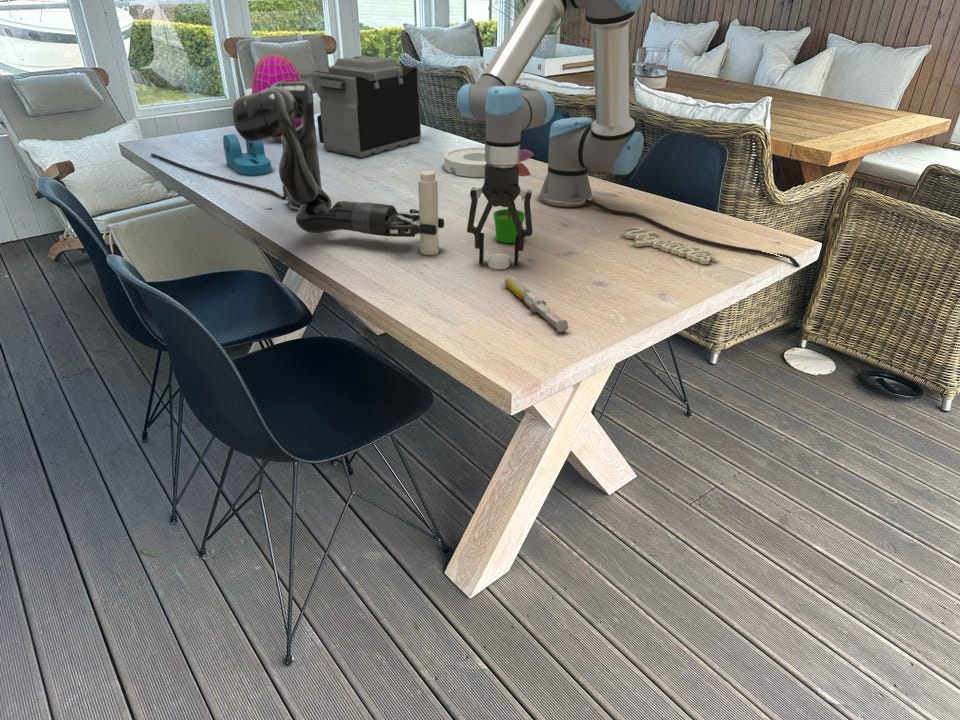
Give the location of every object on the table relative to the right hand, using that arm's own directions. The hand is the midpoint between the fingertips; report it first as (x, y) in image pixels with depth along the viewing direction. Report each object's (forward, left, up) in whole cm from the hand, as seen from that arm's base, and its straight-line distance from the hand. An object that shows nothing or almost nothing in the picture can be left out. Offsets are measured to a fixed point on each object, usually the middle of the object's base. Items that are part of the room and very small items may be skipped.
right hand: (498, 262), depth 160 cm
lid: (0, 0, +1) cm, 1 cm away
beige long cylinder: (+18, 0, -1) cm, 18 cm away
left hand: (+16, -1, +6) cm, 17 cm away
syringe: (-16, +18, -1) cm, 24 cm away
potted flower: (+4, -16, -1) cm, 17 cm away
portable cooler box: (+89, -84, -1) cm, 123 cm away
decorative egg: (+124, -76, -1) cm, 146 cm away
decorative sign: (-33, -28, -1) cm, 43 cm away
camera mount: (+107, -39, -1) cm, 114 cm away
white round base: (+40, -74, -1) cm, 85 cm away
